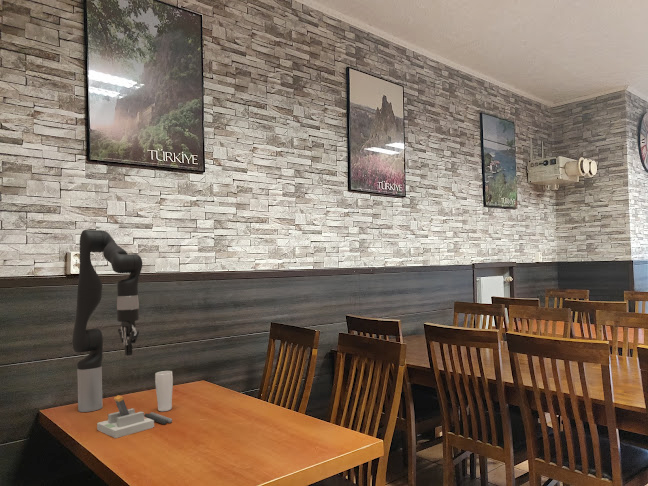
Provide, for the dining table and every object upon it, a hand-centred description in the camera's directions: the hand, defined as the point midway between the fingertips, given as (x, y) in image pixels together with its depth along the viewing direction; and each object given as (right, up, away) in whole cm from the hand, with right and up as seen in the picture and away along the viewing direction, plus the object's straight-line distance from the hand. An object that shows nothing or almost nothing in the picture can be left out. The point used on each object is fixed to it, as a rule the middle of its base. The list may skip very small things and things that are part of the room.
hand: (128, 355), depth 181 cm
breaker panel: (+1, -25, -5) cm, 26 cm away
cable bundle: (+10, -25, +3) cm, 27 cm away
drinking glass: (+8, -26, +17) cm, 33 cm away
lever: (+1, -21, -5) cm, 22 cm away
